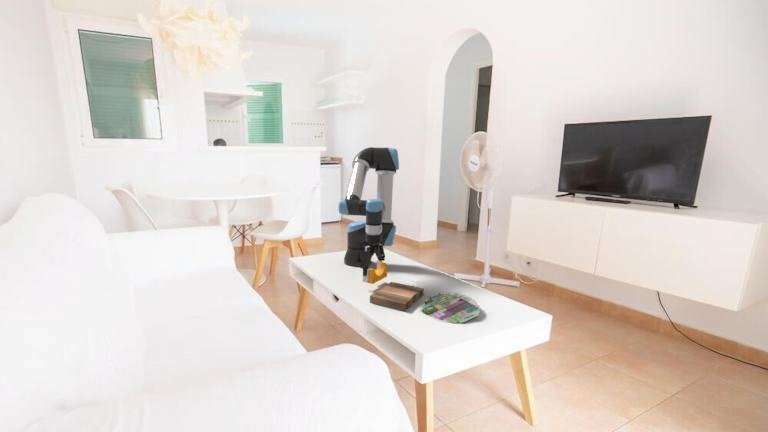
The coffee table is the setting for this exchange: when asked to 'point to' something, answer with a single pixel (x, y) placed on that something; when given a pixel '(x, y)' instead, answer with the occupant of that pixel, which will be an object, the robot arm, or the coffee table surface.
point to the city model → (451, 307)
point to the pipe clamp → (377, 273)
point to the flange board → (397, 296)
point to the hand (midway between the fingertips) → (372, 277)
